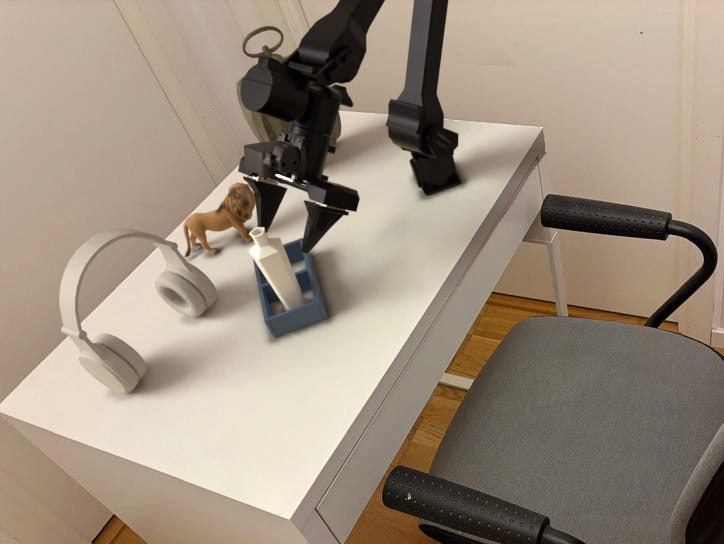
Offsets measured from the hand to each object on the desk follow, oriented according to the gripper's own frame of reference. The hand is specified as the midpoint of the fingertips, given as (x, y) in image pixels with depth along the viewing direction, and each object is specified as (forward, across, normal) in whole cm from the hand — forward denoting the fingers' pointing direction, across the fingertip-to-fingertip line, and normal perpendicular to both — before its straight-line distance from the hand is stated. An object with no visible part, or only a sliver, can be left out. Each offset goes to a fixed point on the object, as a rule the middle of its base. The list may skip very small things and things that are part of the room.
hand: (283, 243), depth 103 cm
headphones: (+20, -14, -5) cm, 25 cm away
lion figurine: (+5, -24, +10) cm, 26 cm away
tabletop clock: (-10, -26, +26) cm, 38 cm away
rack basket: (+8, -3, +7) cm, 11 cm away
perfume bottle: (+10, 0, +6) cm, 11 cm away
